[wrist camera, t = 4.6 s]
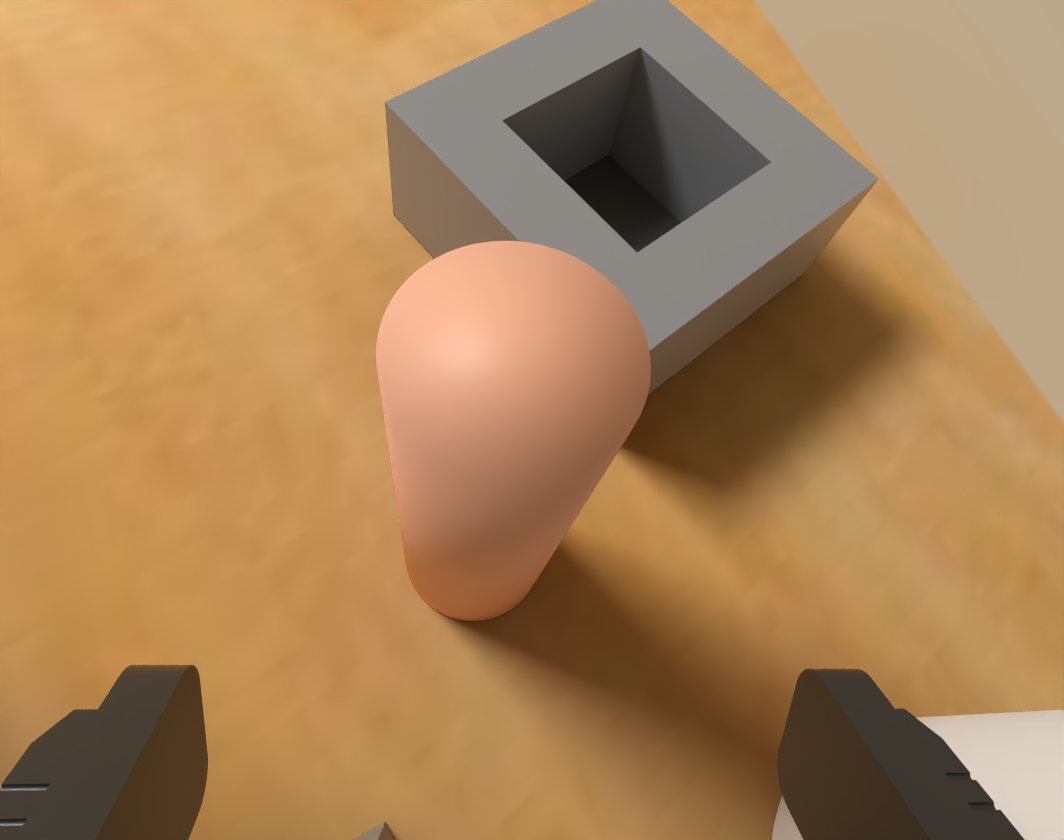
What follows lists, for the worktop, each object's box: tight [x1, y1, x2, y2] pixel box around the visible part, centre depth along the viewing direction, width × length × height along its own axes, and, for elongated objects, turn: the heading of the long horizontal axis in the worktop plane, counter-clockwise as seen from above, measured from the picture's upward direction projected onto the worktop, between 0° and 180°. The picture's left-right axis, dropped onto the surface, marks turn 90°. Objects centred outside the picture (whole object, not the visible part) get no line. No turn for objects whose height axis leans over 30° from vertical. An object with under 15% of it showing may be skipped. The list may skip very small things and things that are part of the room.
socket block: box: [385, 0, 878, 395], centre depth 24 cm, size 11×11×5 cm
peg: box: [376, 241, 651, 621], centre depth 16 cm, size 4×4×12 cm
